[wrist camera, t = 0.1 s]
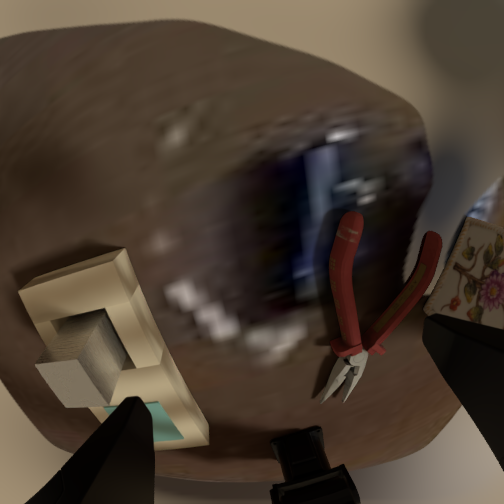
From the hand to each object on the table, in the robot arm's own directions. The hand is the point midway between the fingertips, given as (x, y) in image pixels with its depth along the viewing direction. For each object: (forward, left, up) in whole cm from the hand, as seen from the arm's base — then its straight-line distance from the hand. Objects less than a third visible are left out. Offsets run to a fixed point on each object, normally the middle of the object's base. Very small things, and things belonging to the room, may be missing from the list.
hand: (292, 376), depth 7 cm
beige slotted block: (-9, +14, -15) cm, 22 cm away
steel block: (-4, +14, -15) cm, 21 cm away
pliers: (-9, -8, -15) cm, 20 cm away
